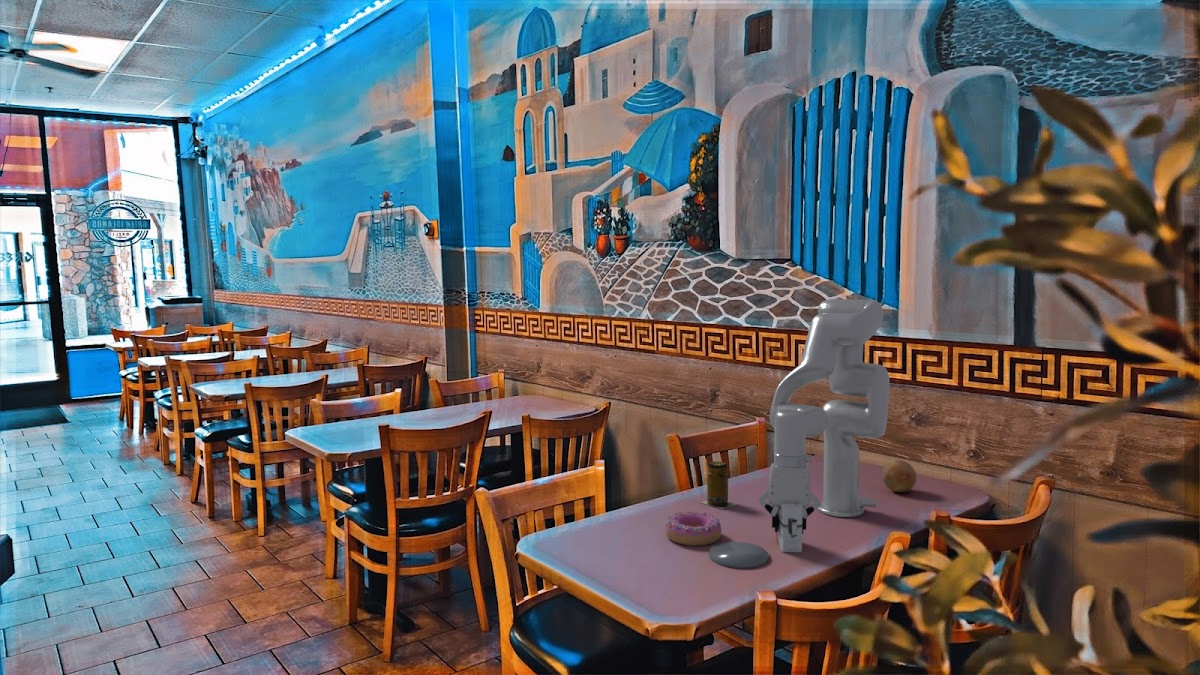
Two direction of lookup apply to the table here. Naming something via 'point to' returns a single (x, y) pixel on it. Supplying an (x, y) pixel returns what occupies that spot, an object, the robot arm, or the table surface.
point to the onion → (899, 476)
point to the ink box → (790, 527)
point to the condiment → (718, 486)
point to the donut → (693, 528)
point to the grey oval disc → (738, 555)
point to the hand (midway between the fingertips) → (788, 530)
